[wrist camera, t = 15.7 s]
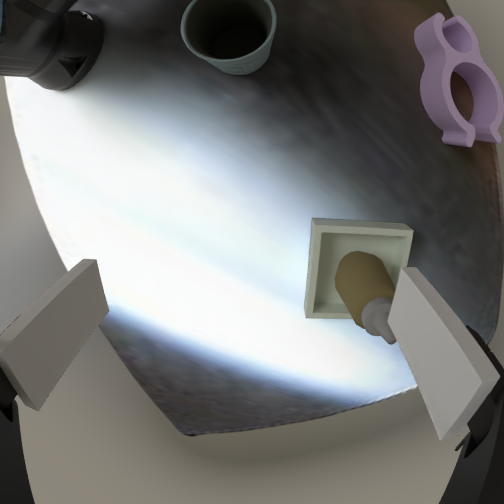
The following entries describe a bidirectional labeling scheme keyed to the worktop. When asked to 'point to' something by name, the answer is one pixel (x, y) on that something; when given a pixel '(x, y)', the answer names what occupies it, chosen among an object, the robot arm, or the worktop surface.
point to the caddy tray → (340, 244)
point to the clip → (470, 69)
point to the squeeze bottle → (366, 292)
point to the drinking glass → (230, 33)
